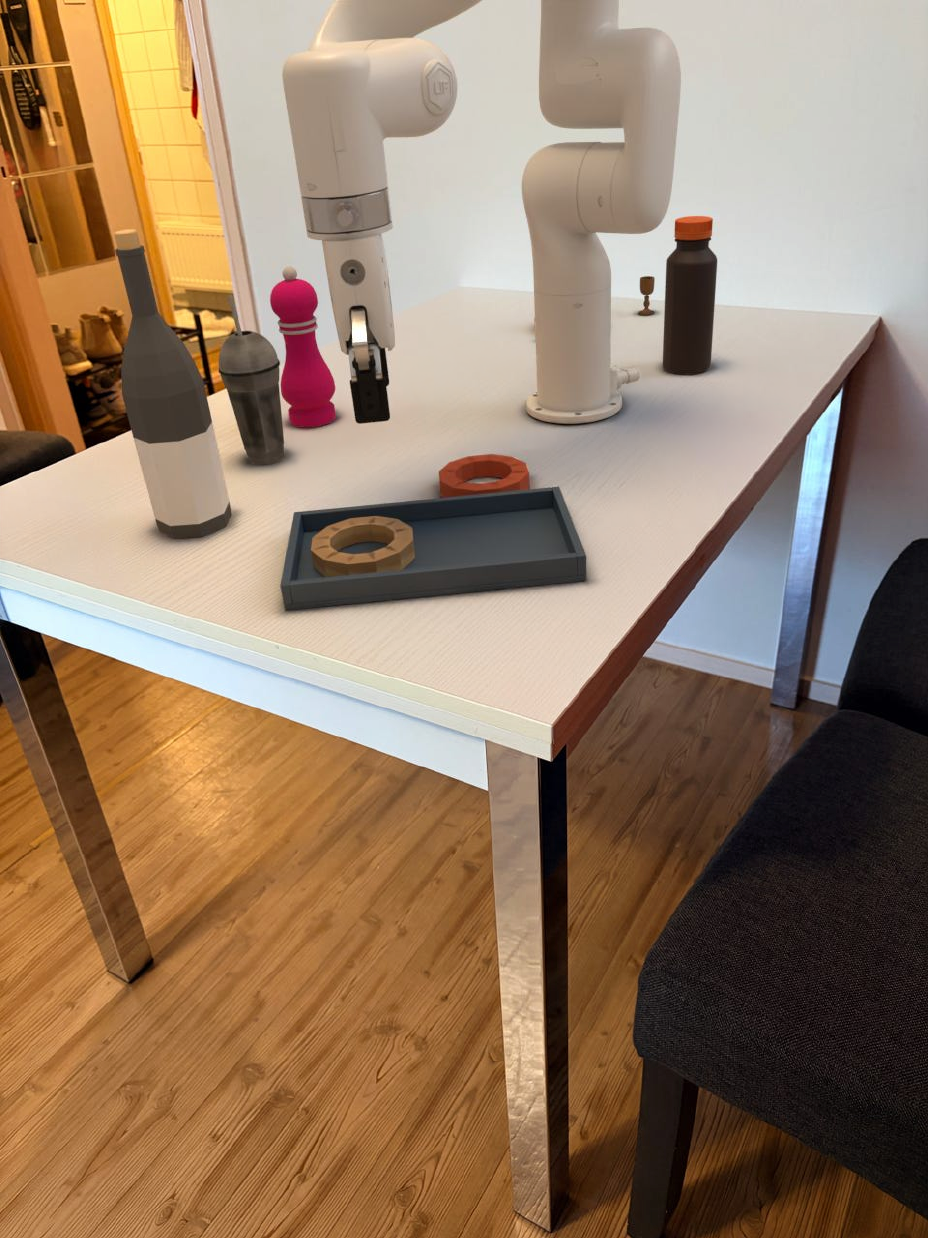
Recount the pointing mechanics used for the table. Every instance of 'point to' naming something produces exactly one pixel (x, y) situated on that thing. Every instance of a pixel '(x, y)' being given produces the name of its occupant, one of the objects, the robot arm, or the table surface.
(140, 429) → the wine bottle
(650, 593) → the table surface
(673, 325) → the vinegar
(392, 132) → the robot arm
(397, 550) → the birch ring
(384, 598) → the tray
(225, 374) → the beverage cup
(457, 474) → the terracotta ring
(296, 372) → the pepper mill
